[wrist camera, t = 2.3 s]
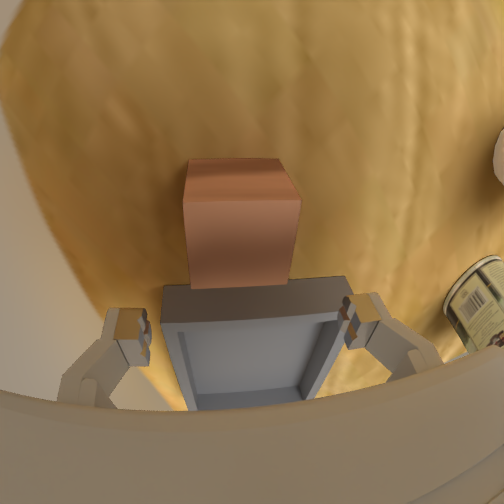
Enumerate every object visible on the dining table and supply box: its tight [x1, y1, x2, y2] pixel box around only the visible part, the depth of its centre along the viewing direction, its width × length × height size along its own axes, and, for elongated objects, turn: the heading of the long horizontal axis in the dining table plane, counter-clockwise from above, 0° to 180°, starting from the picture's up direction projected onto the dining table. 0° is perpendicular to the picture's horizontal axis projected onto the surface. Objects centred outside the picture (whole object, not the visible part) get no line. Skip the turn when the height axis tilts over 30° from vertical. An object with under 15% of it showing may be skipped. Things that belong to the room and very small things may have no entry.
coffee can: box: [443, 255, 504, 354], centre depth 23 cm, size 10×10×14 cm
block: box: [183, 158, 302, 289], centre depth 16 cm, size 5×5×5 cm
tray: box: [160, 276, 354, 411], centre depth 26 cm, size 18×14×4 cm
